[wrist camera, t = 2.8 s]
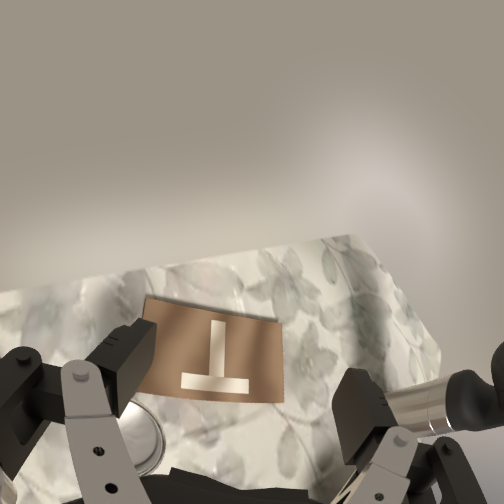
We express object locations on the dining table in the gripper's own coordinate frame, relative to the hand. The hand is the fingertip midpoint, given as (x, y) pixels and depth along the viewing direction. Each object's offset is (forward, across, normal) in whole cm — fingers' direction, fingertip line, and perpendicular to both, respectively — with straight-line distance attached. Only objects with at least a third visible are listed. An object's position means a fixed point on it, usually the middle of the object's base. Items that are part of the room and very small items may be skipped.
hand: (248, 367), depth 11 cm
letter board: (+22, +2, +16) cm, 27 cm away
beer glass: (+10, +11, +22) cm, 27 cm away
